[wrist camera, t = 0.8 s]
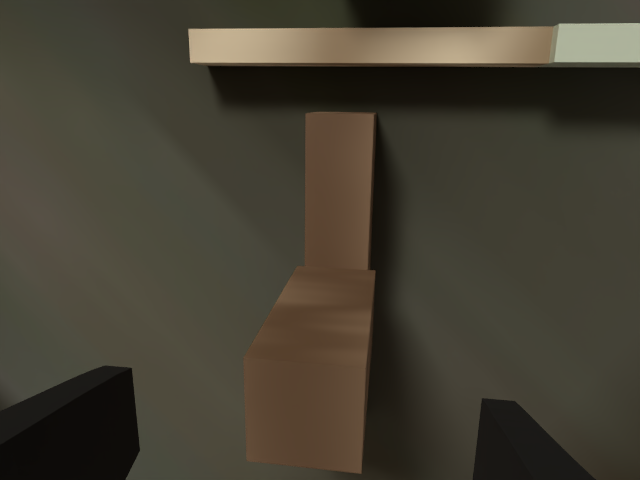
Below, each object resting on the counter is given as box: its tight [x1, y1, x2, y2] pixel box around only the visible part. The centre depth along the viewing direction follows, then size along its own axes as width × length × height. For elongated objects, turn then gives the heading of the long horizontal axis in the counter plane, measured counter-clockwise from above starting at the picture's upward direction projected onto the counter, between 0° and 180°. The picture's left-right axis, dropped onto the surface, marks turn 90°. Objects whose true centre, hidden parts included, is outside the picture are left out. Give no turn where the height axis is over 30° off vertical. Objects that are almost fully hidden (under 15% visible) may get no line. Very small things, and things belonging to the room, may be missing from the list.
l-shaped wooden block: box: [243, 112, 377, 474], centre depth 15 cm, size 2×12×9 cm, turn 179°
